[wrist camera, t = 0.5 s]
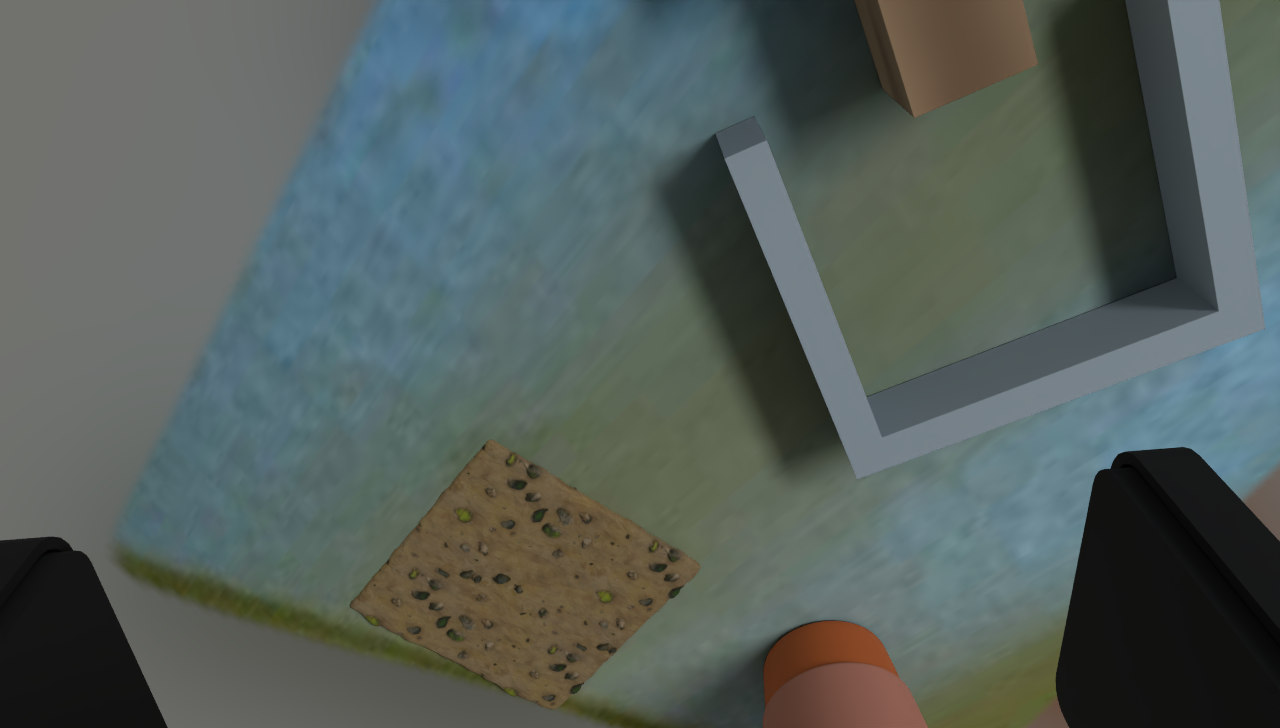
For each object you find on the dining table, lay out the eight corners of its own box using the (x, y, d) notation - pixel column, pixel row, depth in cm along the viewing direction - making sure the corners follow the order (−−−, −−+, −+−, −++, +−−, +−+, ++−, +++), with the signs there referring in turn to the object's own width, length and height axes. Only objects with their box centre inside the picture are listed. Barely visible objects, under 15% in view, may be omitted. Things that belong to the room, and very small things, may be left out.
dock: (1162, -66, 32) (1211, -56, 29) (1220, 294, 39) (1264, 328, 36) (715, 133, 35) (724, 158, 32) (841, 437, 41) (857, 479, 39)
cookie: (488, 427, 41) (486, 440, 40) (706, 558, 45) (708, 572, 44) (345, 599, 46) (340, 614, 45) (555, 705, 49) (554, 720, 49)
